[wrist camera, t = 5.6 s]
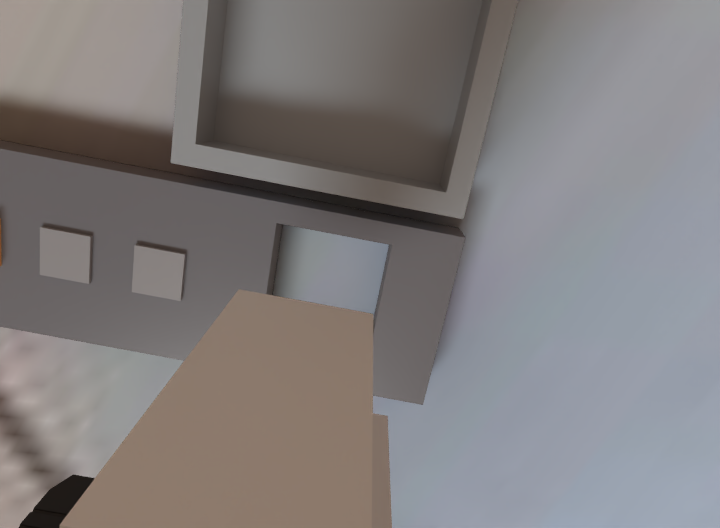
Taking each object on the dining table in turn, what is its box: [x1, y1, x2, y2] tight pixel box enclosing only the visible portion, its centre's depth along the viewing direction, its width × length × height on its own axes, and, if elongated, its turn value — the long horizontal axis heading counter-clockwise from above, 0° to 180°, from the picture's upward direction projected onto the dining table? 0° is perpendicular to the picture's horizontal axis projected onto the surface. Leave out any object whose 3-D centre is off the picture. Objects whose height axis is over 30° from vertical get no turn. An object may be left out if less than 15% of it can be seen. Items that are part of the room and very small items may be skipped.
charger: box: [59, 289, 373, 528], centre depth 13 cm, size 4×6×10 cm
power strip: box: [0, 140, 465, 405], centre depth 26 cm, size 24×9×3 cm, turn 79°
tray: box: [171, 0, 518, 219], centre depth 22 cm, size 13×13×3 cm
